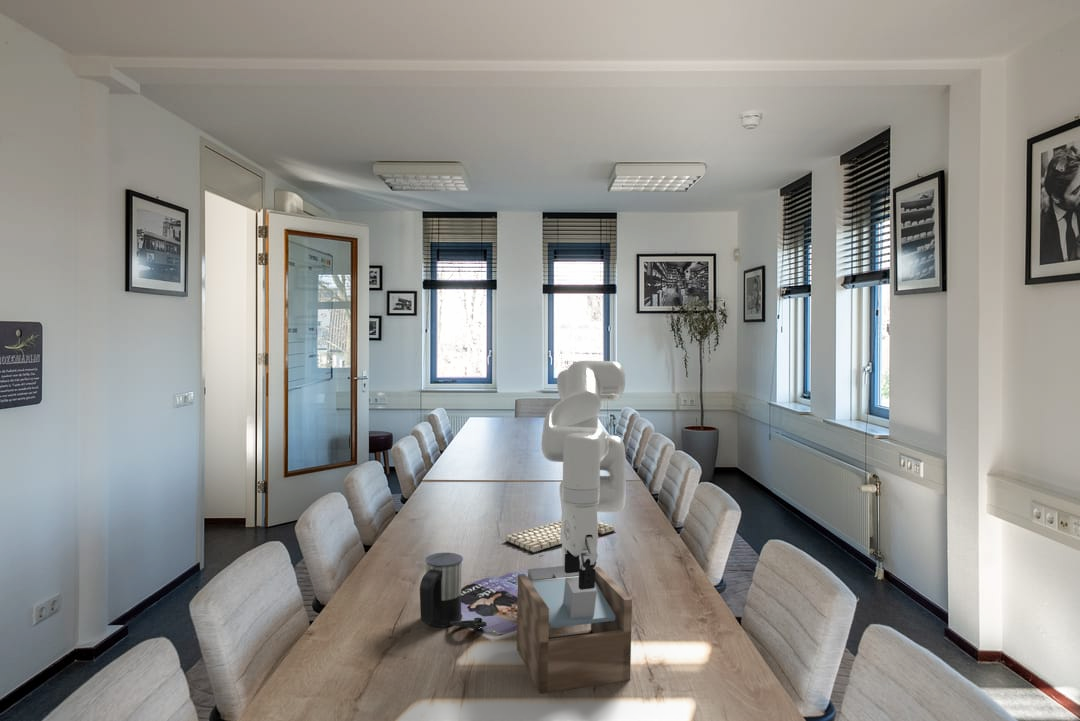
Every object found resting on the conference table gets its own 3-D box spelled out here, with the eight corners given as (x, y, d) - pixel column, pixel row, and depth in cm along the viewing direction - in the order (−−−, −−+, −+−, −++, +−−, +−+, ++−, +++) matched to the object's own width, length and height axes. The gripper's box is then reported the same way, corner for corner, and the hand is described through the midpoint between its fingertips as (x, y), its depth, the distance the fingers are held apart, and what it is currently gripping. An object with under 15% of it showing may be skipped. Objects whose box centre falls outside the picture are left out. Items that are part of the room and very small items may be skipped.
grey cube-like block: (562, 603, 130) (565, 578, 128) (585, 601, 131) (588, 576, 130) (570, 619, 125) (573, 593, 124) (593, 616, 127) (596, 590, 125)
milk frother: (428, 609, 157) (429, 551, 156) (491, 611, 156) (492, 552, 156) (415, 637, 143) (415, 572, 142) (484, 639, 142) (485, 575, 141)
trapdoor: (520, 588, 143) (522, 565, 142) (581, 582, 148) (584, 559, 146) (545, 650, 125) (547, 623, 123) (614, 641, 129) (617, 615, 127)
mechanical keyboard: (540, 559, 195) (540, 548, 195) (500, 544, 209) (500, 534, 208) (618, 534, 221) (618, 524, 221) (578, 522, 235) (578, 513, 235)
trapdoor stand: (516, 648, 138) (517, 574, 138) (597, 637, 144) (598, 566, 143) (539, 693, 121) (541, 609, 120) (630, 679, 126) (632, 599, 126)
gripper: (550, 485, 134) (548, 566, 135) (577, 507, 118) (576, 599, 118) (583, 483, 136) (581, 563, 137) (615, 505, 120) (613, 595, 120)
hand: (579, 579), depth 128 cm, fingers open, 8 cm apart
